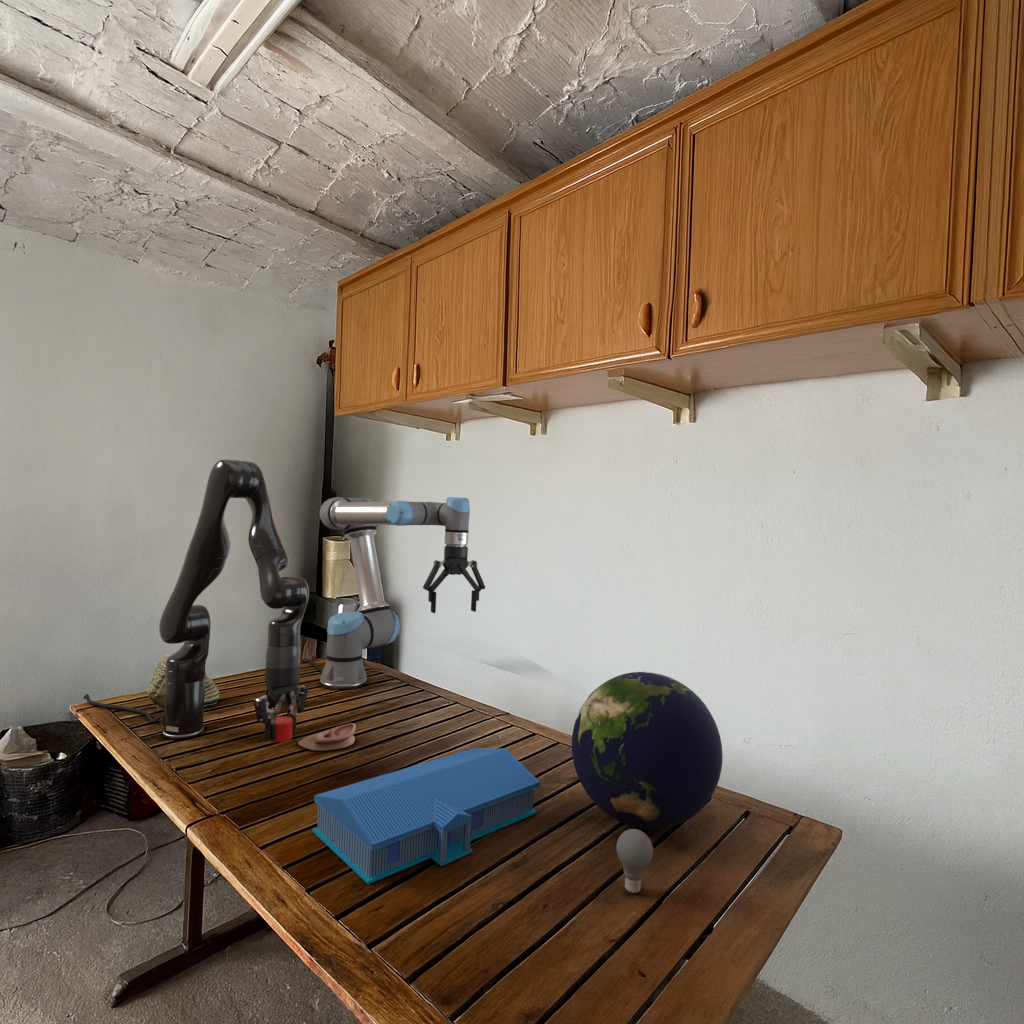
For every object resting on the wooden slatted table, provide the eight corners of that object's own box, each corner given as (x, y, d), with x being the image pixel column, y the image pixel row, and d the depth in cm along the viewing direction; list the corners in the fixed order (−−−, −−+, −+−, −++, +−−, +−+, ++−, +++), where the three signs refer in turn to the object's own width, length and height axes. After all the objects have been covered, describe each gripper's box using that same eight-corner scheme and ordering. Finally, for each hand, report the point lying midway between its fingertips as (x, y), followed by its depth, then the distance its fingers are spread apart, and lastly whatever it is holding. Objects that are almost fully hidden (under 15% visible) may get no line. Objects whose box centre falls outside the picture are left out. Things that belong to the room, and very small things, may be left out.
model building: (378, 893, 102) (380, 832, 102) (311, 830, 120) (313, 778, 120) (548, 819, 128) (550, 770, 128) (472, 776, 146) (474, 733, 146)
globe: (548, 837, 121) (555, 681, 121) (589, 777, 149) (595, 650, 148) (711, 879, 110) (720, 707, 109) (723, 805, 138) (730, 668, 137)
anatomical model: (291, 731, 158) (315, 716, 169) (291, 747, 158) (314, 731, 169) (341, 738, 155) (361, 722, 167) (340, 754, 155) (360, 737, 167)
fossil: (144, 707, 182) (145, 655, 182) (212, 696, 194) (213, 647, 194) (151, 716, 175) (153, 662, 175) (221, 703, 188) (223, 653, 188)
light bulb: (610, 879, 108) (613, 822, 108) (644, 879, 109) (647, 822, 109) (619, 902, 102) (622, 840, 102) (655, 901, 103) (658, 840, 103)
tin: (267, 742, 144) (267, 724, 143) (270, 734, 148) (271, 716, 148) (290, 741, 145) (291, 723, 145) (293, 733, 150) (293, 716, 149)
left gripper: (267, 672, 138) (265, 749, 138) (318, 659, 151) (315, 730, 151) (245, 666, 142) (242, 741, 142) (296, 654, 154) (294, 723, 155)
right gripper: (421, 546, 194) (418, 615, 194) (496, 546, 204) (493, 612, 204) (415, 544, 201) (412, 610, 201) (488, 544, 211) (485, 608, 211)
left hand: (280, 735), depth 147 cm, fingers closed on tin, 5 cm apart
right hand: (453, 611), depth 203 cm, fingers open, 13 cm apart
